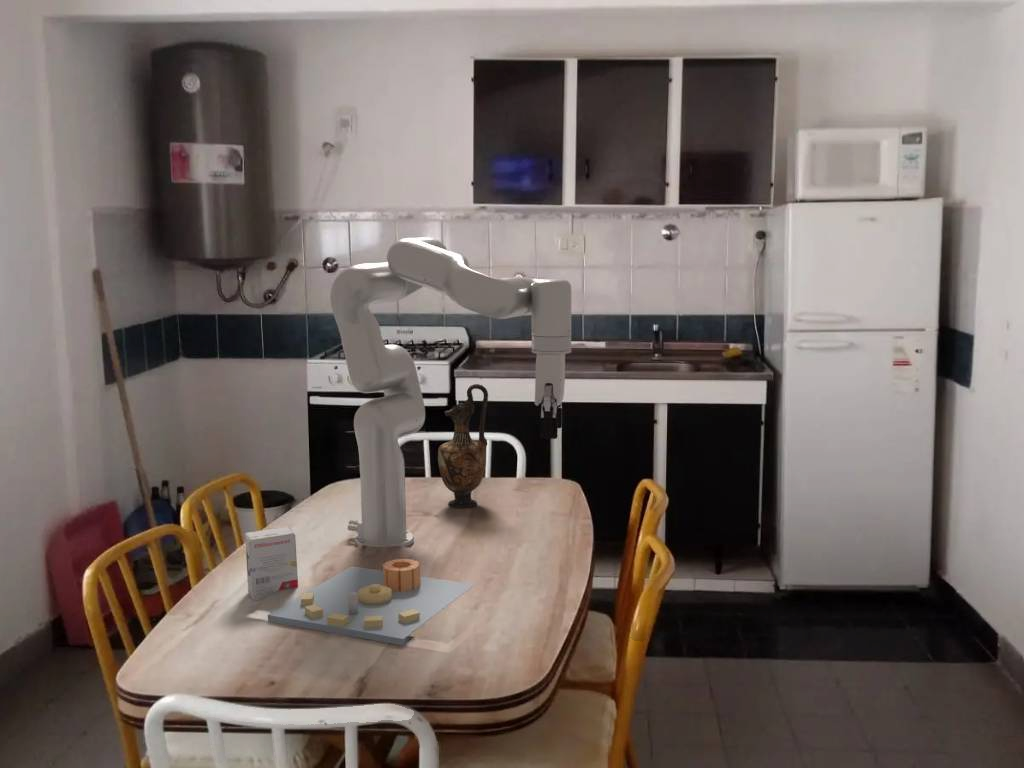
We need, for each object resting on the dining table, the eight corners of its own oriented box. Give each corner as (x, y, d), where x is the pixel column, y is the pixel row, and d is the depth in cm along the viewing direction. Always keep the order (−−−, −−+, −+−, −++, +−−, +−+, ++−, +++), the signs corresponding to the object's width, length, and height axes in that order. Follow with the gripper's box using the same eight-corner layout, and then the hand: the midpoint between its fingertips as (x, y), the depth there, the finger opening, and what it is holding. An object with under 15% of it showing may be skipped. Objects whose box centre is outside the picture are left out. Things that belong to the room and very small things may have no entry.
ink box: (292, 585, 192) (290, 525, 190) (299, 593, 188) (296, 532, 186) (246, 592, 188) (243, 532, 186) (252, 601, 184) (249, 539, 182)
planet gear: (377, 588, 186) (376, 568, 186) (395, 577, 192) (394, 557, 192) (408, 593, 184) (408, 572, 183) (425, 581, 190) (425, 561, 189)
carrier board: (267, 621, 175) (266, 595, 174) (352, 571, 199) (351, 549, 198) (403, 645, 164) (402, 618, 163) (474, 590, 188) (474, 566, 188)
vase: (444, 497, 252) (442, 380, 248) (493, 499, 251) (491, 380, 246) (434, 510, 241) (431, 387, 236) (485, 512, 239) (483, 388, 234)
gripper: (536, 339, 199) (536, 423, 202) (526, 350, 182) (526, 442, 185) (574, 339, 198) (574, 424, 201) (567, 350, 181) (567, 443, 184)
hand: (551, 432), depth 193 cm, fingers open, 9 cm apart
